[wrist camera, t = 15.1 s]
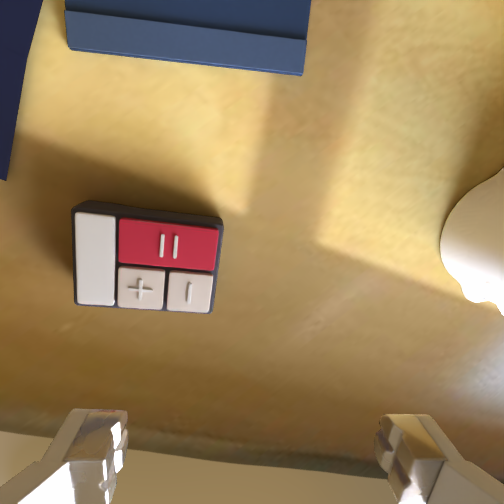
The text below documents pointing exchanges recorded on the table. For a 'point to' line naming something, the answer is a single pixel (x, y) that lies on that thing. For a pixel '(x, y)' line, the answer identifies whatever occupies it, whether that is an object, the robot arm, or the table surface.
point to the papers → (13, 66)
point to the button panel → (144, 258)
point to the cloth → (195, 31)
